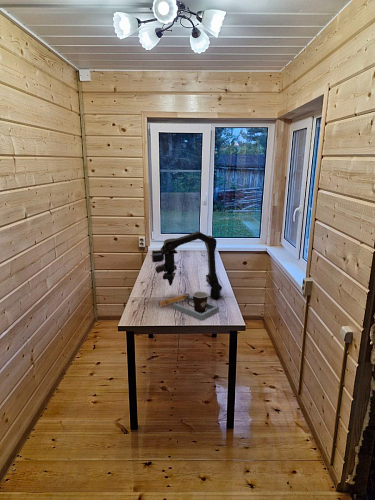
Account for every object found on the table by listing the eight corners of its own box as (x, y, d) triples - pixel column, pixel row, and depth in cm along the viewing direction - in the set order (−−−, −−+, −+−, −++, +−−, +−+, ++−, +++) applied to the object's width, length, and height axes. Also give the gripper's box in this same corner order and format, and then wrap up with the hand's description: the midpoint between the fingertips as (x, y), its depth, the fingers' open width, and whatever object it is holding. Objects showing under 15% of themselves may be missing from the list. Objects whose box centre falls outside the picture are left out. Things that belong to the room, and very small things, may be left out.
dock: (186, 298, 201) (186, 293, 200) (219, 310, 184) (219, 306, 183) (168, 306, 190) (168, 301, 189) (201, 320, 173) (201, 315, 172)
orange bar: (187, 296, 200) (187, 293, 200) (190, 298, 198) (190, 294, 197) (159, 304, 189) (159, 301, 188) (161, 306, 186) (161, 302, 186)
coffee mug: (206, 307, 189) (207, 291, 186) (208, 314, 180) (208, 297, 178) (187, 307, 188) (187, 291, 186) (187, 314, 180) (187, 297, 177)
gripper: (158, 256, 199) (159, 279, 203) (153, 265, 181) (154, 291, 185) (176, 256, 198) (177, 279, 202) (172, 265, 180) (173, 291, 184)
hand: (170, 285), depth 193 cm, fingers closed
